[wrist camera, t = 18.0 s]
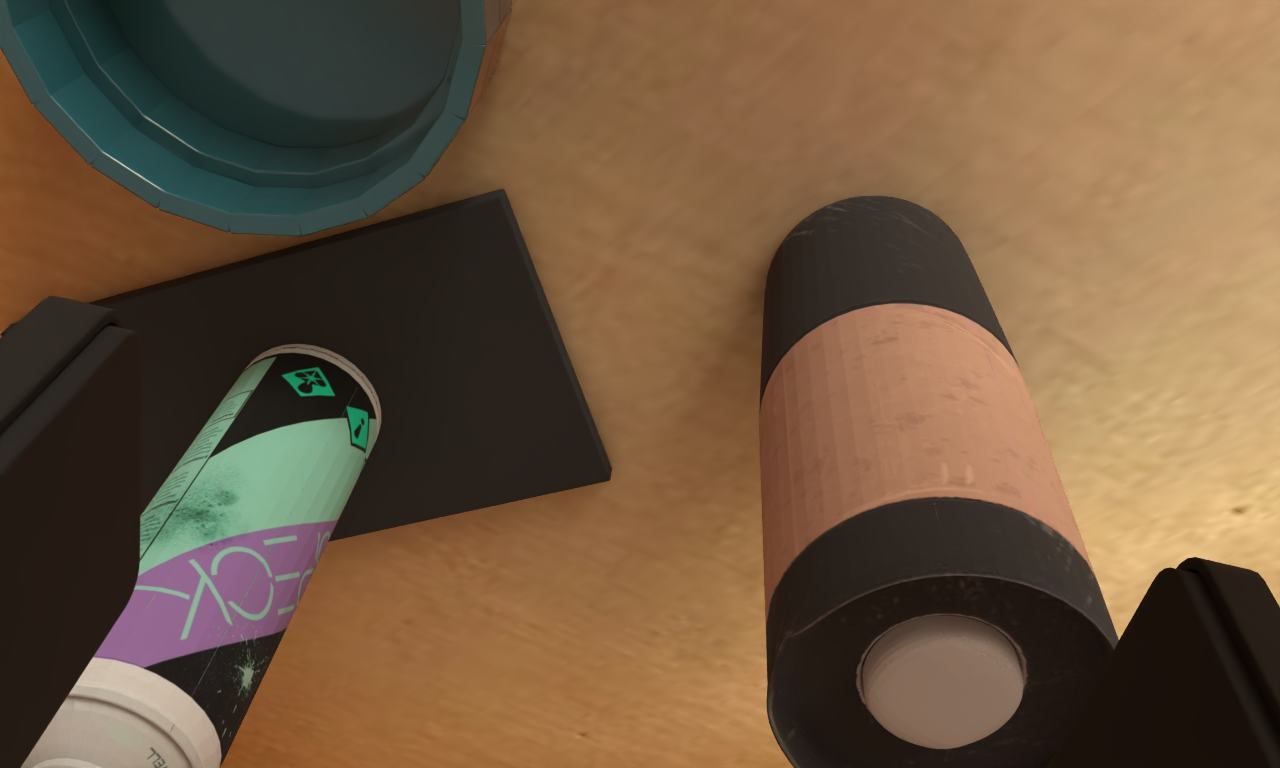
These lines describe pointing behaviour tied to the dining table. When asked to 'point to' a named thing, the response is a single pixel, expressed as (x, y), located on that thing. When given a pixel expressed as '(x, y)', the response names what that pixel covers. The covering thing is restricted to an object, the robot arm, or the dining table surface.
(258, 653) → the spray can
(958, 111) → the dining table surface
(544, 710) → the dining table surface
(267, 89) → the pan
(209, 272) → the mat
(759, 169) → the dining table surface
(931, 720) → the travel mug
